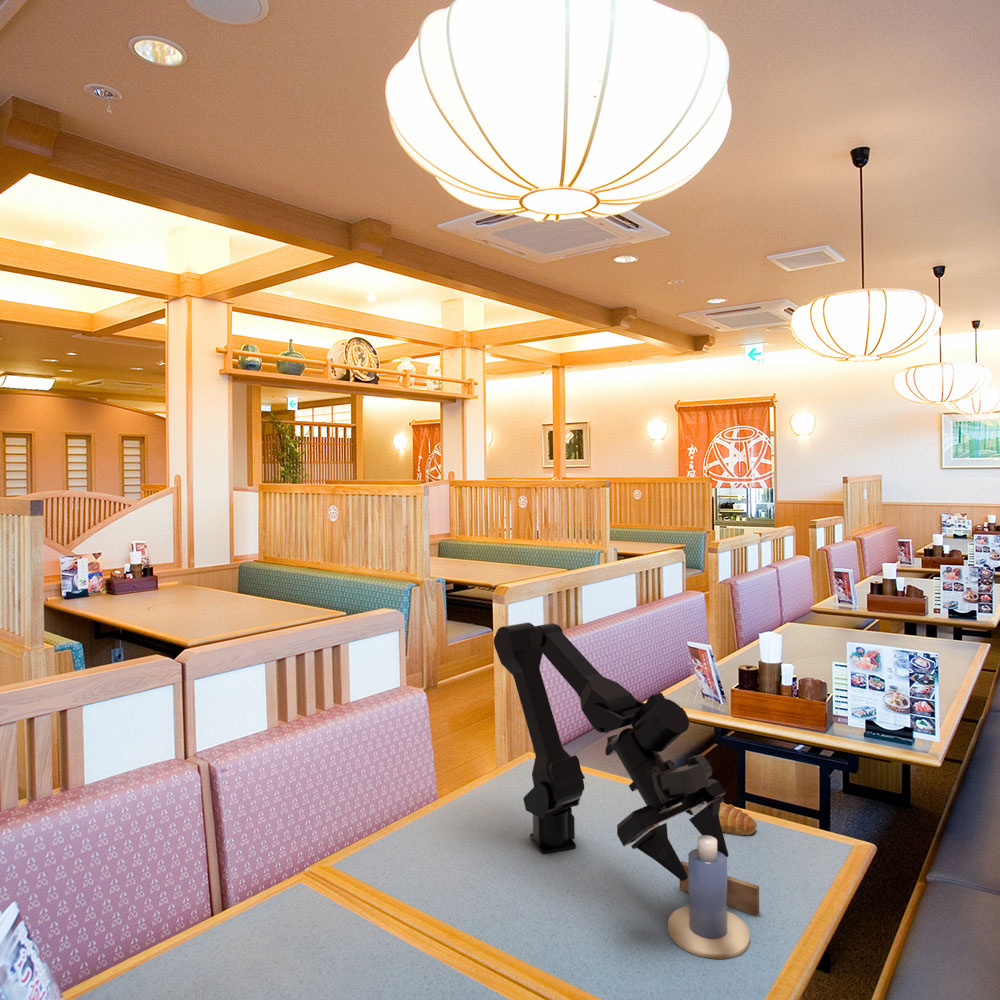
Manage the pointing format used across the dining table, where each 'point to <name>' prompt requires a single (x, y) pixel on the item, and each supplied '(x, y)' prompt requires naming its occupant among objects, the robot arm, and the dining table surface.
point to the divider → (734, 893)
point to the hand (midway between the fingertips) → (706, 868)
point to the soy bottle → (707, 889)
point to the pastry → (735, 821)
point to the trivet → (709, 948)
